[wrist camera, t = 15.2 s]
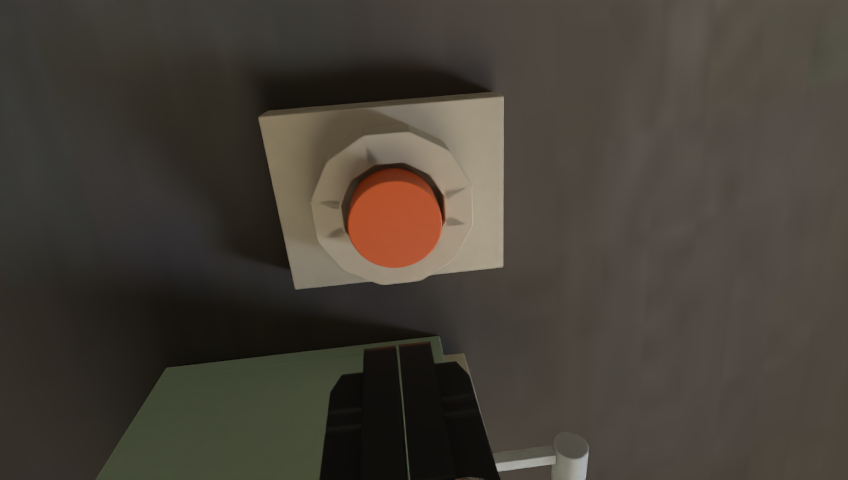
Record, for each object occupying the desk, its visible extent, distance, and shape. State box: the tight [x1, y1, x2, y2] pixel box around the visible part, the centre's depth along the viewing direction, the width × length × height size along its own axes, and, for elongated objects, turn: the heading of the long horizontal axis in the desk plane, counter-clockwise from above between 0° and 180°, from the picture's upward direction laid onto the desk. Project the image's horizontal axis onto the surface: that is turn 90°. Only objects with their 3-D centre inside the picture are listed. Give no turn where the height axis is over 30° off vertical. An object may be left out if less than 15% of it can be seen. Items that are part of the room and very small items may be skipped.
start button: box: [347, 168, 442, 268], centre depth 18 cm, size 4×4×2 cm
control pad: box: [258, 92, 504, 290], centre depth 20 cm, size 10×8×4 cm
